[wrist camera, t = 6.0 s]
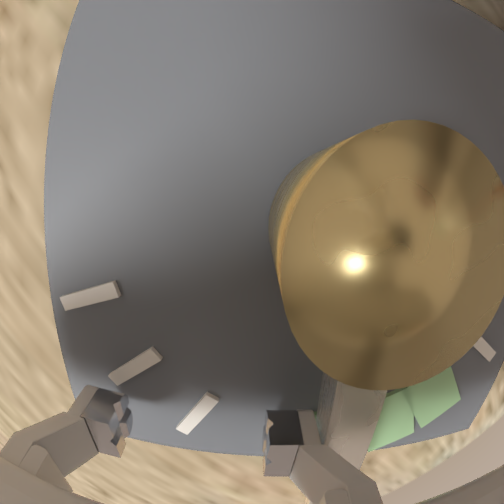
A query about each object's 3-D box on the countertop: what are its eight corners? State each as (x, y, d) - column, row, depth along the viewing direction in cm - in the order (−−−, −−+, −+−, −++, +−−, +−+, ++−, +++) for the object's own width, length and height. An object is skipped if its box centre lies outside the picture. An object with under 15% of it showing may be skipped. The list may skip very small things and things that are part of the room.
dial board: (102, -16, 7) (89, -31, 6) (516, 56, 7) (534, 50, 6) (95, 413, 11) (84, 432, 10) (456, 420, 12) (467, 435, 10)
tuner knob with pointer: (267, 143, 7) (279, 105, 3) (419, 153, 7) (517, 145, 3) (265, 469, 10) (267, 546, 6) (365, 459, 10) (388, 528, 6)
